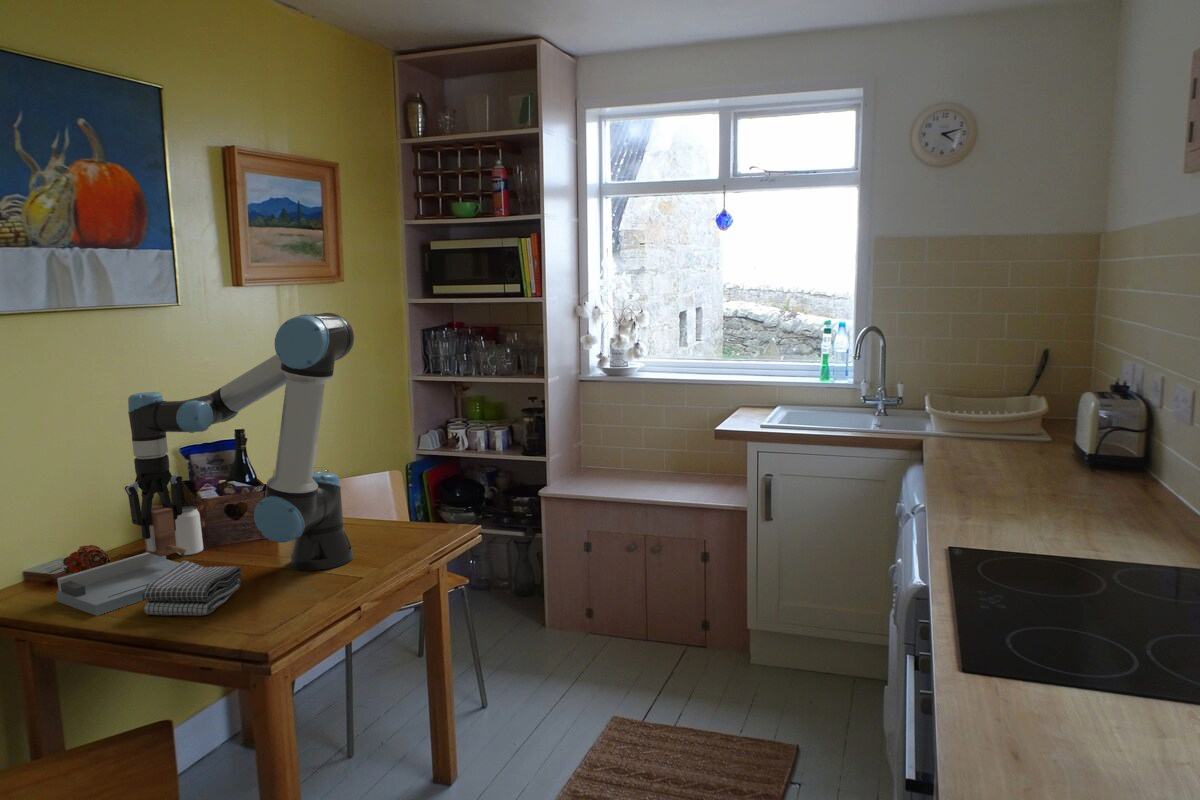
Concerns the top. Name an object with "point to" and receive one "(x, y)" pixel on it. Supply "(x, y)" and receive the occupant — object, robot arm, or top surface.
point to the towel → (191, 589)
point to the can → (189, 531)
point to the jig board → (112, 583)
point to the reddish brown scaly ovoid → (85, 559)
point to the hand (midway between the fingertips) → (161, 547)
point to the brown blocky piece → (163, 532)
